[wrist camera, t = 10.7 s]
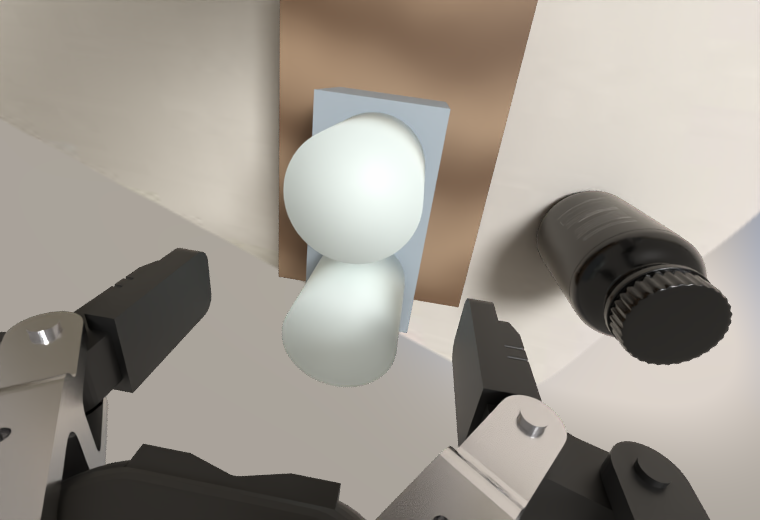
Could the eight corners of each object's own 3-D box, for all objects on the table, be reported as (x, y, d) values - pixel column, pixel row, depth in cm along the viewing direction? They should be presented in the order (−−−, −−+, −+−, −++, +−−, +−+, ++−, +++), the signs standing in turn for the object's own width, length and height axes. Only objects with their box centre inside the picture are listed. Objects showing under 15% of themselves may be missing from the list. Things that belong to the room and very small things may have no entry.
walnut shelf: (320, -29, 23) (280, -68, 17) (515, -5, 23) (547, -36, 16) (308, 237, 31) (278, 276, 25) (452, 260, 31) (458, 307, 24)
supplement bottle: (525, 268, 30) (577, 372, 20) (547, 184, 27) (622, 252, 17) (614, 277, 30) (718, 390, 19) (646, 193, 27) (791, 270, 16)
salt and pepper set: (340, 86, 20) (265, 93, 11) (446, 101, 19) (459, 122, 10) (327, 271, 24) (268, 382, 16) (411, 285, 24) (400, 407, 15)
